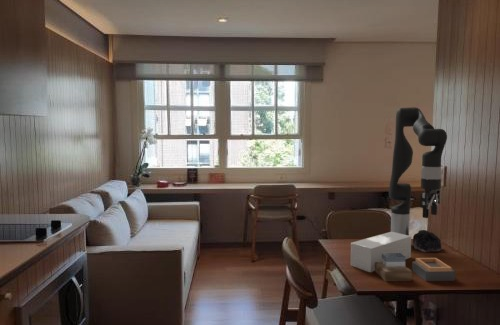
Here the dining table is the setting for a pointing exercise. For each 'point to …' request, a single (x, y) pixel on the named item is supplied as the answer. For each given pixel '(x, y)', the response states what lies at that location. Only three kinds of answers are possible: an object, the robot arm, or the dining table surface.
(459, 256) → the dining table surface
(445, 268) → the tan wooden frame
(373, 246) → the long white block
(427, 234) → the crystal cluster
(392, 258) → the block
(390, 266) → the housing base plate
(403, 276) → the walnut stand
